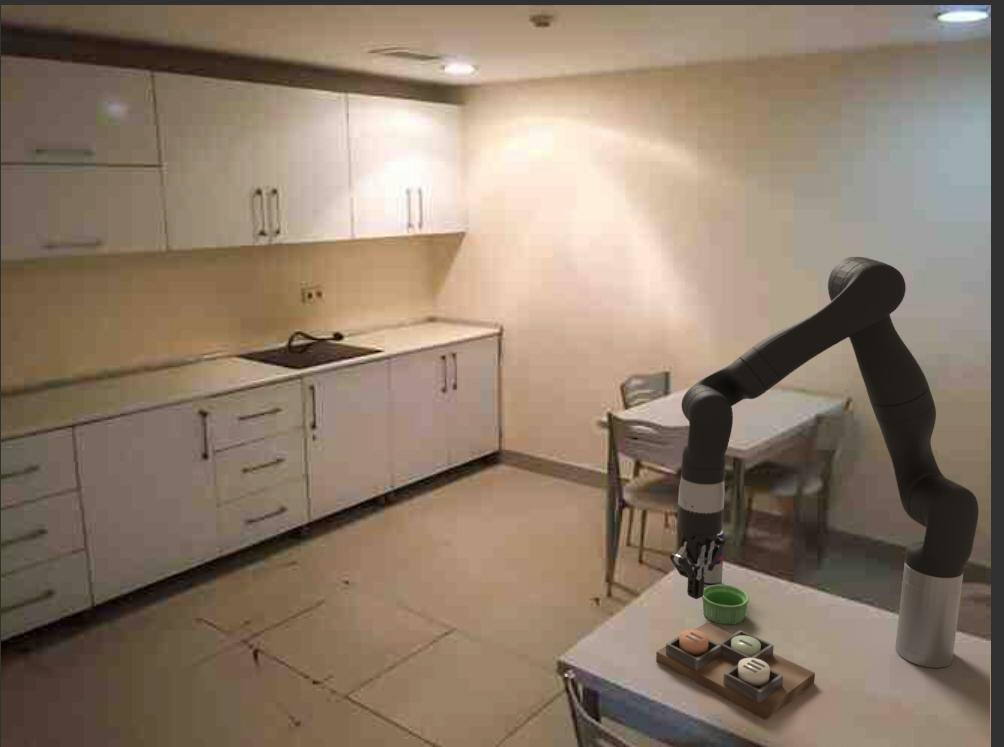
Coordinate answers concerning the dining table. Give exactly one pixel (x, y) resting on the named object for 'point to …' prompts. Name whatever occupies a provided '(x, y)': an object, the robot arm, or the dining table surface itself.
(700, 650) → the button terracotta
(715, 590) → the ramekin
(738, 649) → the button sage
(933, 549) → the robot arm
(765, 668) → the button cream
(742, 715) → the dining table surface
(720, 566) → the energy drink
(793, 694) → the button panel
